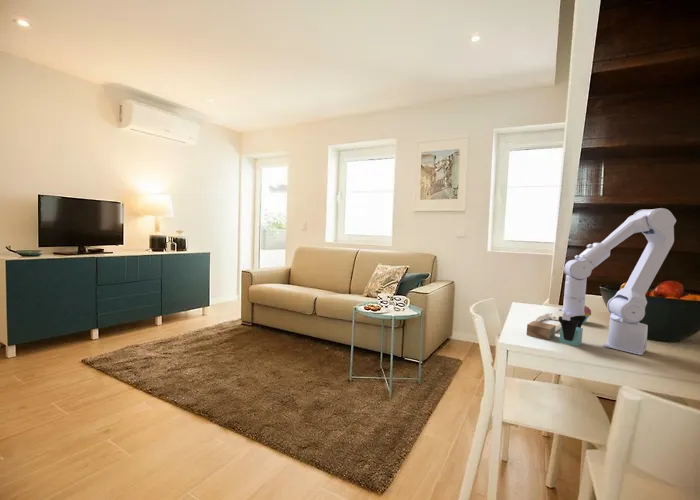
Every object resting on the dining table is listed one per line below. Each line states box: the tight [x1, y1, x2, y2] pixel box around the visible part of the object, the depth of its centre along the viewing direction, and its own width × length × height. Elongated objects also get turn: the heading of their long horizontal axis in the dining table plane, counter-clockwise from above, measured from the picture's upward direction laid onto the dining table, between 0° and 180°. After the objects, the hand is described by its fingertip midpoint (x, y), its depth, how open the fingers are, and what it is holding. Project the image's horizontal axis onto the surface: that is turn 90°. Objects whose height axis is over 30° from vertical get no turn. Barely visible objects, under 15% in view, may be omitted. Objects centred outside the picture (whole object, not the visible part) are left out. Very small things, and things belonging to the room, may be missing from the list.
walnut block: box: [526, 320, 556, 341], centre depth 120 cm, size 7×7×4 cm
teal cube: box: [559, 327, 584, 347], centre depth 113 cm, size 5×5×5 cm
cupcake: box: [582, 305, 592, 325], centre depth 139 cm, size 9×8×12 cm
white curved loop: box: [533, 312, 563, 333], centre depth 134 cm, size 3×10×25 cm
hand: (570, 338), depth 113 cm, fingers closed on teal cube, 5 cm apart
